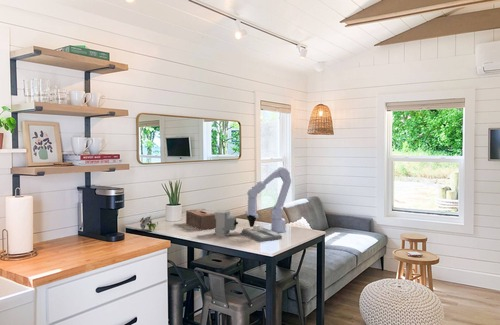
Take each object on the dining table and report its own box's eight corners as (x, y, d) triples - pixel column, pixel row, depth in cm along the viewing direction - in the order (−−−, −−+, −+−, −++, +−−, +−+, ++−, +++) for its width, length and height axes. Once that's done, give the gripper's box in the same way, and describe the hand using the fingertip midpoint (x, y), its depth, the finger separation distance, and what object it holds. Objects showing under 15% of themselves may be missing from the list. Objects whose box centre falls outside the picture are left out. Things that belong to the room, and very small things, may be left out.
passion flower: (142, 238, 263) (136, 222, 266) (157, 233, 269) (150, 218, 273) (146, 232, 254) (139, 216, 258) (161, 226, 261) (154, 211, 264)
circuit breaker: (235, 236, 250) (236, 213, 249) (214, 234, 253) (215, 212, 252) (238, 233, 257) (238, 211, 256) (218, 232, 260) (218, 210, 259)
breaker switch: (257, 229, 259) (257, 224, 259) (259, 231, 256) (259, 225, 256) (253, 230, 258) (253, 225, 258) (255, 231, 255) (255, 226, 254)
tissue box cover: (220, 228, 273) (220, 214, 273) (201, 230, 265) (201, 216, 265) (203, 221, 295) (203, 208, 294) (186, 223, 287) (186, 210, 286)
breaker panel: (261, 230, 266) (262, 226, 266) (281, 238, 245) (281, 233, 245) (241, 233, 258) (241, 228, 258) (260, 241, 237) (260, 236, 237)
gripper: (241, 205, 266) (241, 225, 267) (252, 208, 253) (251, 229, 254) (250, 204, 269) (250, 224, 270) (261, 208, 257) (261, 228, 258)
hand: (251, 226), depth 262 cm, fingers closed
